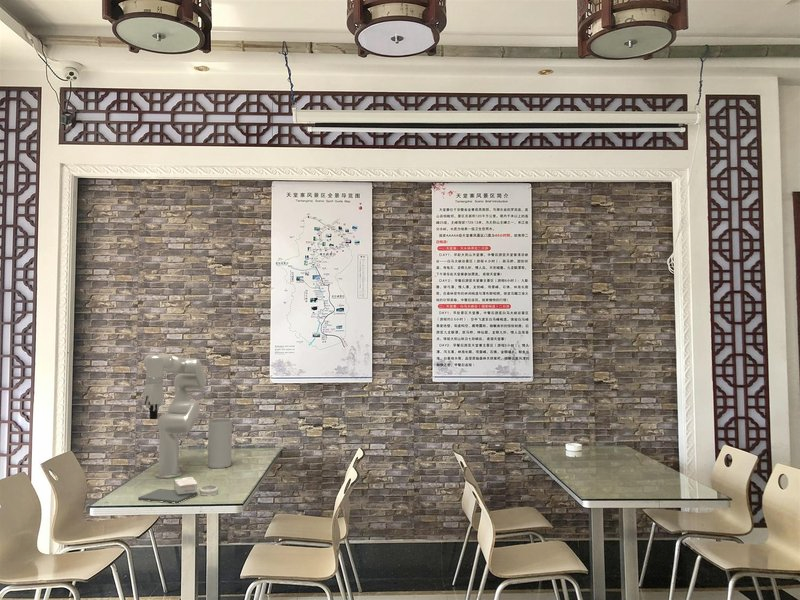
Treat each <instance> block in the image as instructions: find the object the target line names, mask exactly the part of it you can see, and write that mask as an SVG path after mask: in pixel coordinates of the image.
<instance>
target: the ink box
mask: <svg viewBox="0 0 800 600" xmlns="http://www.w3.org/2000/svg"><path fill="white" fill-rule="evenodd" d="M197 488H198V482H197V480H195V478H194V477H193V476H189V477H188V476H187V477H182V478H181V477H180V478H174V479H173V490H175V491H176V492H177V494H178V495H179V494H188V493H196V492H197V493H198V489H197Z"/></svg>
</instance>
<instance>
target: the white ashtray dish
mask: <svg viewBox="0 0 800 600" xmlns="http://www.w3.org/2000/svg"><path fill="white" fill-rule="evenodd" d="M218 490H219V487H218V486H217V485H204V486H201V487H199V496H201V495H212V496H215V495H214V494H216V495H218Z"/></svg>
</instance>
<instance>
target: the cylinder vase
mask: <svg viewBox="0 0 800 600" xmlns="http://www.w3.org/2000/svg"><path fill="white" fill-rule="evenodd" d="M207 429H208V432H207V433H208V434H207V435H208V436H207V467H208V468H209V467H210V469H225V467H226V468H229V467H231V465H232V440H233V439H232V436H233V431H232V430H233V419H229V418H216V419H210V420H208V428H207Z"/></svg>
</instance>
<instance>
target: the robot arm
mask: <svg viewBox="0 0 800 600" xmlns="http://www.w3.org/2000/svg"><path fill="white" fill-rule="evenodd" d="M143 366H144V368H145V369H146V371H145V372H146V374H145V375H146V377H145V385H144V388H143V395H142V396H143V397H142V404H143V405H144V406H145V409H148V411H149V419H150V420H157V419H158V421H157V428H158V435H159V439H158V440H159V445H158V450H159V451H158V472H156V473H155V475H154V476H155V477H156V478H159V479H171V478H176V477H179V476H181V475H182V471H180V469H182V468H183V467H184V465H183V464H182V463H181V464H179V453H180V452H179V450H180V449H179V448H180V447H179V446H180V441H179V440H180V439H179V437H178V435H177V433H179V434H181V433H182V434H183V433H184V434H186V433H190V432H191V431H192V430H193V428H194V426H195V423H196V422H197V419H198V417H199V414H200V413H201V412H200V410H201V409H200V407H201V406H200V404H199V402H198V401H197V400H192V397H191V394H190V393H189V392H188V391H187V390H189V389H190V390H191V389H192V390H194V389H195V390H200V389H203V388H205V387H206V385H207V377H206V373H205V369H204V366H203V364H202V362H201V360H200V359H198V358H196V357H195V358H193V357H180V356H175V355H170V354H147V355H146V356H145V357H144V359H143ZM164 372H166V373H173V374H177V375H175V377H174V381H173V384H174V385H173V386H174V397H173V399H172V401H171V403H170V404H169V407H168V410H167V413H165V414H162V415H160V417H159V418H158V411H159V408H160V406H162V404H163V402H164V385H163V383H164V382H163V381H164V380H163V379H164V378H163V376H164Z"/></svg>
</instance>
